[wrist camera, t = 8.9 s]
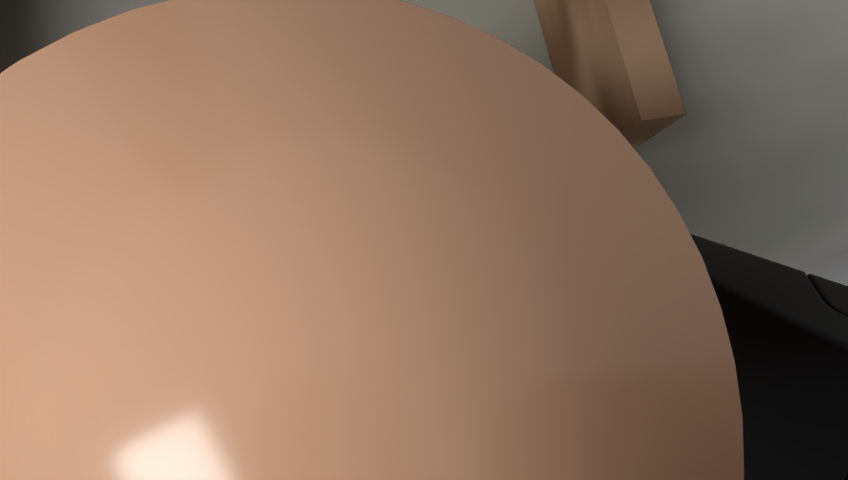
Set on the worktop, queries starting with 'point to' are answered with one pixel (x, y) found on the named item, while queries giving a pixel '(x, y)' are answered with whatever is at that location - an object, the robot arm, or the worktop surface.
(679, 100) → the cradle
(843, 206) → the worktop surface
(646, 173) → the tan rounded upright piece
